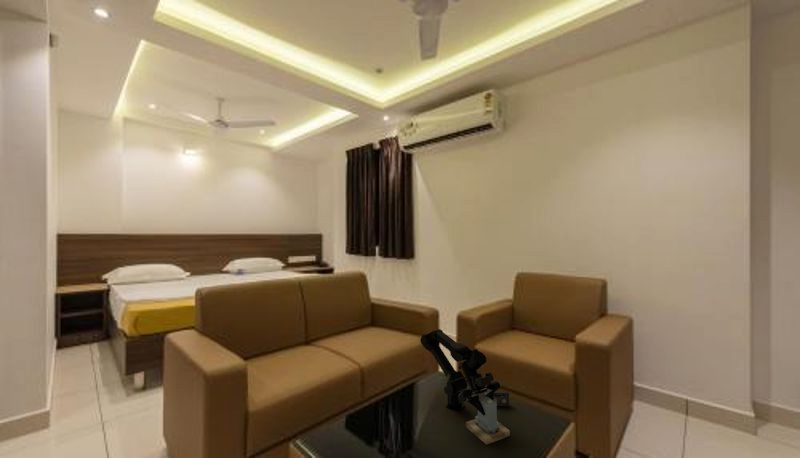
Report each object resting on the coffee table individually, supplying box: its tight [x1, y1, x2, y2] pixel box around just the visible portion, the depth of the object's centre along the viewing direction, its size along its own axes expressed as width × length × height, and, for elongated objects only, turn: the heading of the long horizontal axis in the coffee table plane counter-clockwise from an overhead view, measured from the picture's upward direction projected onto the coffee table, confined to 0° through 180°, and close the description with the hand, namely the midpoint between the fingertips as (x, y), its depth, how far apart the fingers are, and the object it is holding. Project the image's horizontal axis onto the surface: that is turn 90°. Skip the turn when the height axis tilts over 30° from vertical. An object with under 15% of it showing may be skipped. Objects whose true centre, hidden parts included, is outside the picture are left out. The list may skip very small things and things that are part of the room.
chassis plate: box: [465, 418, 511, 445], centre depth 140 cm, size 13×12×2 cm
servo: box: [474, 395, 500, 434], centre depth 140 cm, size 9×5×12 cm, turn 26°
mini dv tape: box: [493, 391, 510, 407], centre depth 159 cm, size 8×2×6 cm, turn 84°
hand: (489, 413), depth 138 cm, fingers closed on servo, 5 cm apart
